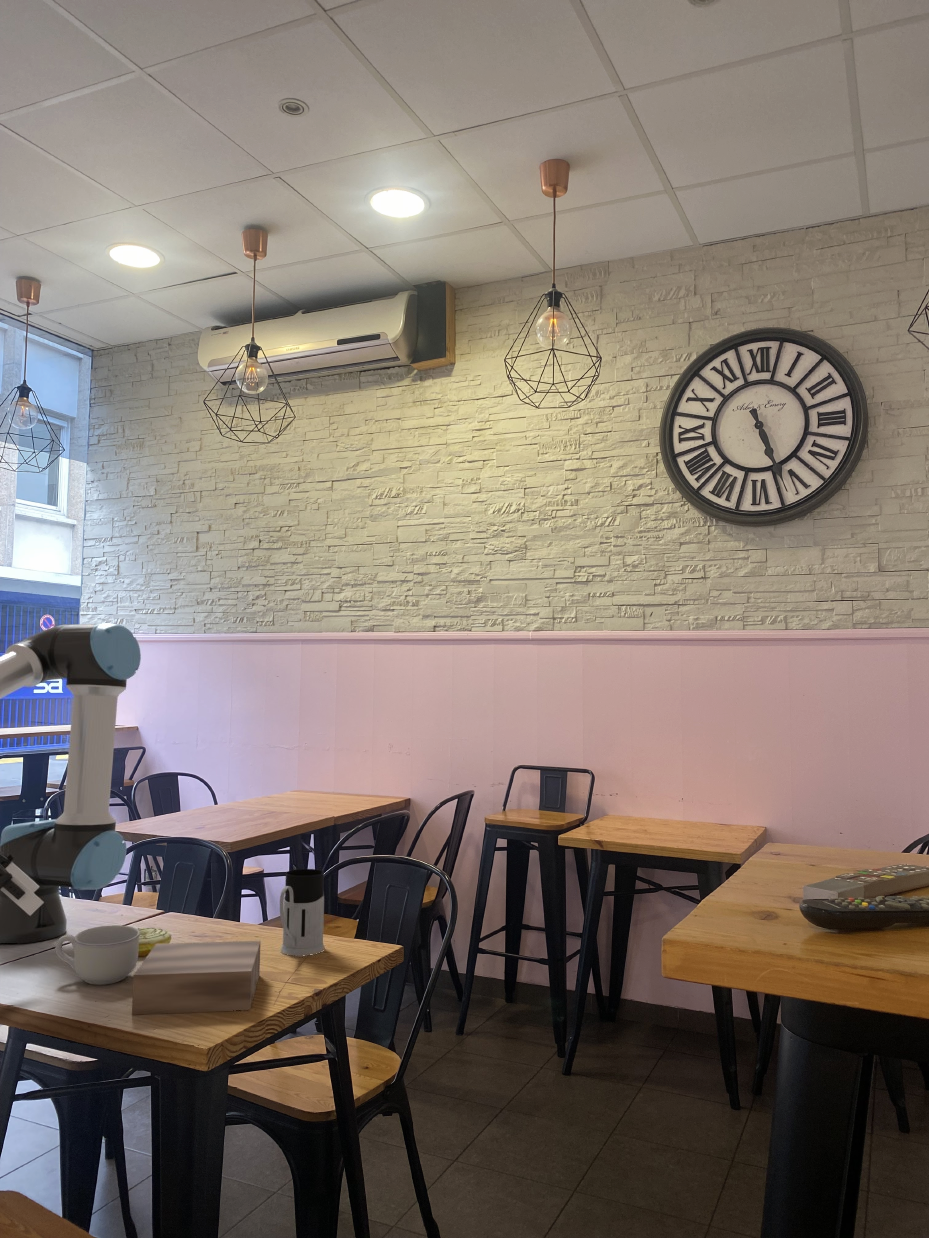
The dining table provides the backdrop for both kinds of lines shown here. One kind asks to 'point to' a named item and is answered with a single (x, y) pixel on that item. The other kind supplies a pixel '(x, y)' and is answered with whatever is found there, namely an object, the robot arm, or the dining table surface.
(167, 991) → the block
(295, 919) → the glass holder
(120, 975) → the teacup
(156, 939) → the decorated donut
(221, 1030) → the dining table surface
